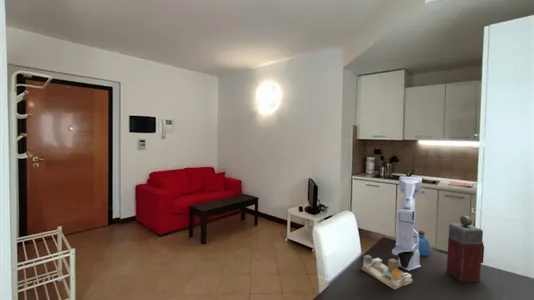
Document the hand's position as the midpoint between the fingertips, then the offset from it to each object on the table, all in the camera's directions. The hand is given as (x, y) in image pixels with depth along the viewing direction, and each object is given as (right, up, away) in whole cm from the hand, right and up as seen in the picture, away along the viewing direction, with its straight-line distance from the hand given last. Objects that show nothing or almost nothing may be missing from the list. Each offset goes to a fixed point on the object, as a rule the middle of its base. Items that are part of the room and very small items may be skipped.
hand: (404, 267), depth 115 cm
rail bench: (-5, -7, +7) cm, 11 cm away
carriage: (-3, -5, +3) cm, 7 cm away
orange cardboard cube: (-4, -4, -2) cm, 6 cm away
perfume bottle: (+25, -6, +30) cm, 39 cm away
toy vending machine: (+32, -7, +7) cm, 33 cm away
